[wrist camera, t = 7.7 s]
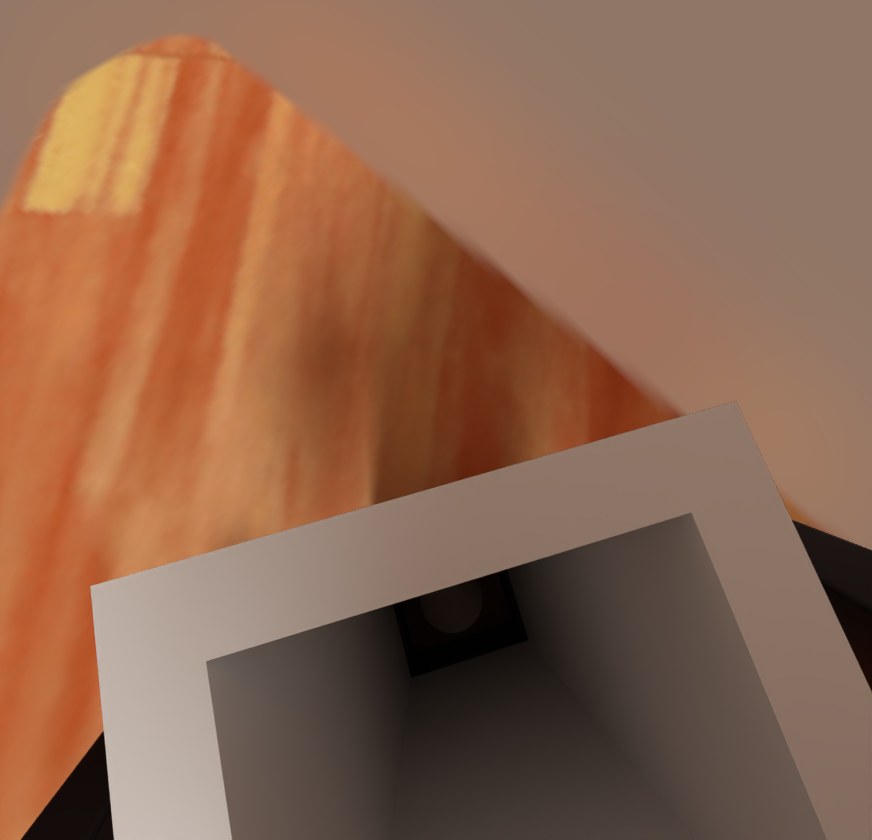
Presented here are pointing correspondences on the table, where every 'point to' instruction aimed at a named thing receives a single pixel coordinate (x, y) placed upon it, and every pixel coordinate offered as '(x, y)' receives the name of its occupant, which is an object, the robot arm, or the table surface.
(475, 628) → the pin board
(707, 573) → the grey sleeve
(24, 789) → the table surface
